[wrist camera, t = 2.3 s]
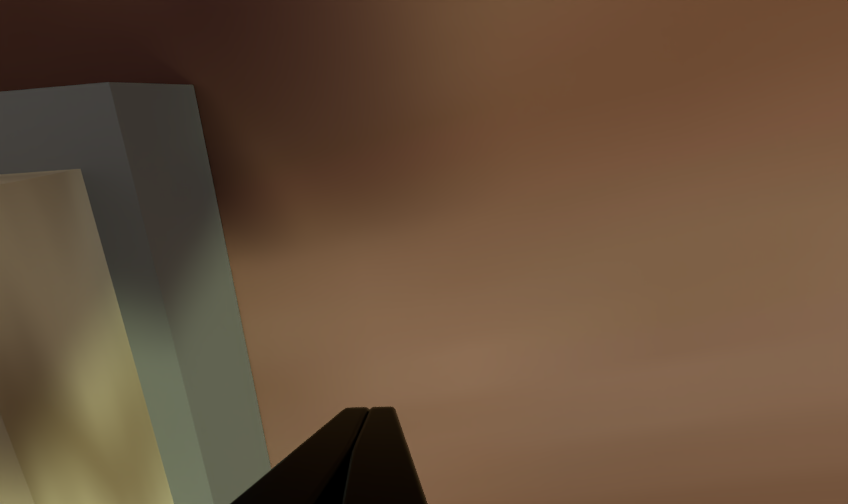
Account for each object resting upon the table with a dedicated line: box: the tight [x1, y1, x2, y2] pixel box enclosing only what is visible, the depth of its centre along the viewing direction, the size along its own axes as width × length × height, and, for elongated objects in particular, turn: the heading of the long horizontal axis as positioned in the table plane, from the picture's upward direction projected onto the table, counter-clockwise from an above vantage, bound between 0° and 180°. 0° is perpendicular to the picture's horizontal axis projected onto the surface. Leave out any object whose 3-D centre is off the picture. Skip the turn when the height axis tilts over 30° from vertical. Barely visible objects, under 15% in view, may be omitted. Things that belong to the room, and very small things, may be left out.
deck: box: [0, 82, 271, 504], centre depth 13 cm, size 12×10×3 cm
